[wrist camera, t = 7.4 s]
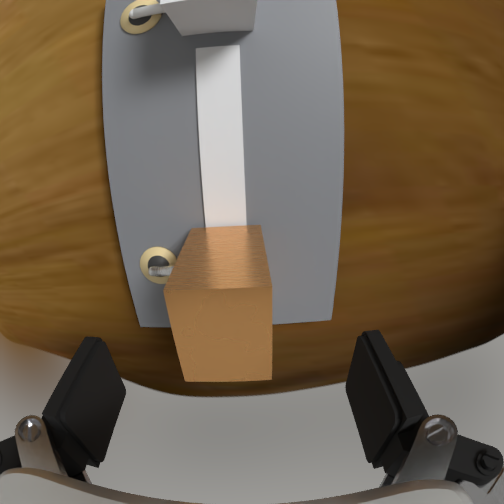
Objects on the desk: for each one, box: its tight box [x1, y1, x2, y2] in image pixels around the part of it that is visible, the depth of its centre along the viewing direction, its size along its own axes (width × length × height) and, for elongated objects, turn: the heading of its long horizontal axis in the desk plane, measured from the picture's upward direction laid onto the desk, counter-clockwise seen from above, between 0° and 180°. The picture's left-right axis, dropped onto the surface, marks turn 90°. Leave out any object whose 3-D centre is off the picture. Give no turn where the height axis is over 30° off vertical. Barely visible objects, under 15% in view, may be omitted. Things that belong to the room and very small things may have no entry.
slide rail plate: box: [102, 0, 344, 327], centre depth 14 cm, size 14×24×6 cm, turn 2°
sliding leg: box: [148, 225, 272, 382], centre depth 15 cm, size 7×5×7 cm
